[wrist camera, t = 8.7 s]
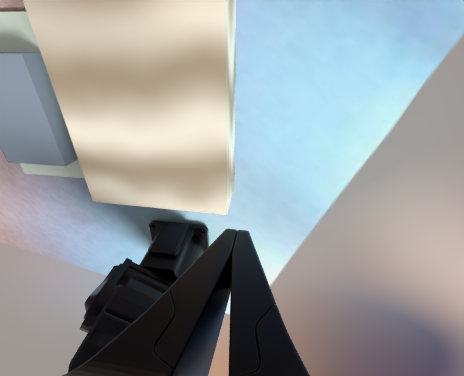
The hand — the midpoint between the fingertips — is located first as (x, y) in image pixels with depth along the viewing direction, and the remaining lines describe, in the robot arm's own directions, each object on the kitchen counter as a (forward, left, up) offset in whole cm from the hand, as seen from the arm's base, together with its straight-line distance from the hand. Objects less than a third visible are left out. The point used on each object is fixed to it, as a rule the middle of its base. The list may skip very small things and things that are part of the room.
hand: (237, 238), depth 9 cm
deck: (+4, +8, -13) cm, 16 cm away
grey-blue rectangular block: (+1, +20, -11) cm, 23 cm away
